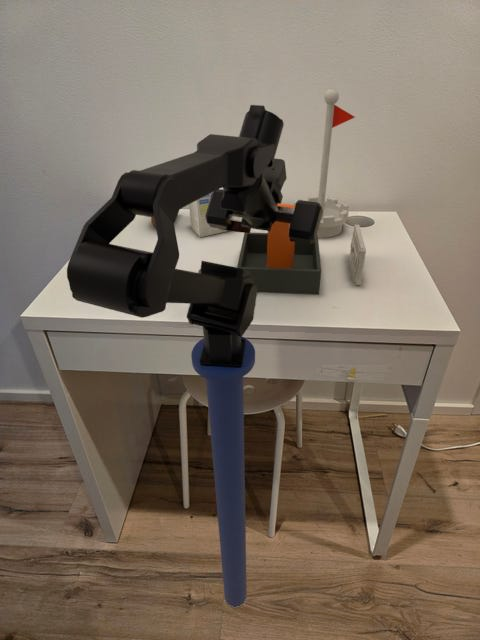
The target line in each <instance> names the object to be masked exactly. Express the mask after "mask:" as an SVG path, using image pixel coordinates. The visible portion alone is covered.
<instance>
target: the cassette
mask: <svg viewBox="0 0 480 640" xmlns="http://www.w3.org/2000/svg"><path fill="white" fill-rule="evenodd" d="M366 254H367V248H366V246H365V240H364V238H363V234H362V230H361V227H360V223H354V224H353V230H352V237H351V242H350V250H349V259H348V264H349V269H350V270H349V271H350V275H351V280H352V282H354V285H355V286H361V282H362V276H363V271H364V266H365V259H366Z"/></svg>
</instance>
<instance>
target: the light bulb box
mask: <svg viewBox="0 0 480 640" xmlns="http://www.w3.org/2000/svg"><path fill="white" fill-rule="evenodd" d="M220 189H221V190H224V189H223V187H222V188H220ZM212 193H213V192H212ZM212 193H210V194H208V195H206V196H204V197H202V198H200V199H199V200H197V201H195V202H193V203H191V204H189V205H188V207H189V217H190V227H191V229H192V230H193V231H194V232H195V234H197V236H198V237H199V238H203V237H208V236H212V235H213V236H214V235H216V234H221V233H226V232H228V231H227V230H221V229H218V228H213V227H210V226H209V224H208V223H207V222H206V217H205V215H206V212H207V208H208V205H209V201H210V198H211V194H212Z"/></svg>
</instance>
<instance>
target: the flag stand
mask: <svg viewBox="0 0 480 640" xmlns="http://www.w3.org/2000/svg"><path fill="white" fill-rule="evenodd" d="M339 98H340V94H339V92H338V90H337V89H336V88H329V89H327V90H326V92H325V93H324V96H323V99H324V103H326V109H325V110H326V111H325V123H324V134H323V144H322V156H321V164H320V177H319V187H318V189H319V190H318V196H307V201H310V202H318V203H320V205H321V206H322V209H323V213H322V217H321V221H320V225H319V229H318V232H317V234H318V239H323V238H332V237H335V236H338V235H339V234H340V233H341V232H342V231H343V225H344V223H345V224H346V222H347V221H348V219H349V209H350V206H349V204H348V203H346V202H341V203H340V204H339V203H338V201H339V199H338V198H335V197H330V196H328V197H327V198H326V192H327V182H328V172H329V162H330V152H331V145H332V144H331V143H332V132H333V128H335V127H338V126H340V125H343V124H344V123H346V122H349V121H350V120H353V119H354V118H356V116H354V115H353V114H352V113H350V112H348V111H346V110H344V109H342V108H341V107H339V106H338V105H336V104H337V102H338V101H339ZM298 200H301V199H299V198H298V199H297V200H296V201H295V202H293V203H294V204H293V205H296V202H297V201H298Z"/></svg>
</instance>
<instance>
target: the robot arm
mask: <svg viewBox="0 0 480 640" xmlns="http://www.w3.org/2000/svg"><path fill="white" fill-rule="evenodd" d="M248 109H249V110H248V111H247V112H246V113H245V115H244V118H243V122H242V125H241V129H240V132H239V135H238V136H234V135H223V134H213V133H210V134H208V135H206V137H204V138H203V139H201V140H200V141H199V142H197V143H196V151H194V152H191V153H189V154H186V155H182V156H180V157H176V158H173V159H170V160H167V161H164V162H162V163H159V164H156V165H152V166H150V167H146V168H144V169H141V170H136V169H132V170H130V171H129V172H127V171H126V172H124V173H123V174H121V175H120V177H119V179H118V180H117V183H116V184H115V185H116V186H115V188H114V190H113V193H112V195H111V198H109V200H107V202H105V203H104V204H103V205H102V206H101V207H100V208H99V209H98V210H97V211H96V212H94V214H93V215H91V217H90V218H89V219H88V220H87V221H86V222H85V223H84V225H83V226H82V229H81V230H80V233H79V236H78V239H77V241H76V244H75V245H74V248H73V250H72V253H71V255H70V259H69V260H68V264H67V267H66V278H67V280H68V286H69V290H70V291H71V297H72V299H74V300H75V301H76V302H77V301H78V302H81V303H85V304H88V305H93V306H96V307H101V308H103V309H106V310H107V309H108V310H112V311H114V312H119V313H123V314H125V315H130V316H134V317H138V318H142V319H143V318H147V317H151V316H154V315H156V314H160V313H162V312H164V311H166V308H167V304H189V307H188V310H187V313H186V318H187V321H188V323H189V325H196V326H199V327H202V332H203V338H204V347H203V350H202V354H201V358H200V365H201V366H216V367H234V368H240V367H242V364H243V357H244V350H245V339H241V337H244V336H243V335H245V333H246V331H247V330H248V328H249V327H250V325H251V324H252V323H253V321H254V316H255V311H256V304H257V303H256V302H257V296H258V292H257V286H256V285H255V284H253V283H254V279H253V277H252V276H250V273H251V271H250V270H245V269H240V268H237V266H231V265H227V264H221V263H217V262H216V263H215V262H210V261H206V260H201V261H200V268H199V270H198V272H195V271H189V270H185V269H179V268H176V267H177V265H178V262H179V259H180V250H179V244H178V238H177V233H176V228H175V223H176V220H177V219H178V217H177V215H179V213H180V210H181V209H183V208H185V207H187V206H189V204H191V203H193V202H195V201H197V200H199V199H200V198H202V197H204V196H206V195H208V194H210V193H212V192H213V193H212V194H211V198H210V201H209V205H208V208H207V212H206V215H205V217H206V222H207V223H208V224H209V226H210V227H213V228H218V229H221V230H227V231H226V232H235V233H243V234H244V233H251V231H252V229H253V230H254V229H255V230H260V231H267V232H268V231H271V227H272V224H274V222H275V221H277V222H284V223H290V228H289V238H290V241H293V242H299V243H308V244H312V243H313V242H315V240H316V236H317V232H318V229H319V225H320V221H321V217H322V213H323V209H322V206H321V205H320V203H318V202H310V201H308V200H303V199H300V200H299V199H297V200H298V201H297V200H296V201H297V202H296V201H295V202H296V205H295V208H288V207H281V206H277V205H278V203H280V204H282V201H283V197H284V196H283V193H282V189H283V186H284V184H285V182H286V181H287V169H286V161H285V160H284V159H282V158H275V157H276V154H277V150H278V146H279V143H280V141H281V137H282V133H283V130H284V125H285V123H284V120H283V119H282V118H280V117H279V116H278V115H277V114H276V113H274V112H271V111H269V110H267V109H266V107H265V105H262V104H261V105H258V104H250V106H249V108H248ZM222 187H223V189H224V190H221V189H220V188H222ZM282 212H283V213H282ZM289 213H290V214H289ZM136 216H142V217H148V218H151V217H152V218H155V224H156V229H155V230H156V236H157V240H156V244H155V245H154V249H153V251H146V250H142V249H137V248H132V247H127V246H121V245H118V244H117V245H116V244H113V243H111V242H112V241H114V239H116V238H117V237H118V235H120V234H121V233H122V232H123V231H124V230H125V229H126V228H127V227H128V226H129V225H130V224H131V223H132V222H133V221H134V220H135V219H136ZM242 341H243V342H242ZM202 362H204V363H202ZM238 364H240V365H238Z"/></svg>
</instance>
